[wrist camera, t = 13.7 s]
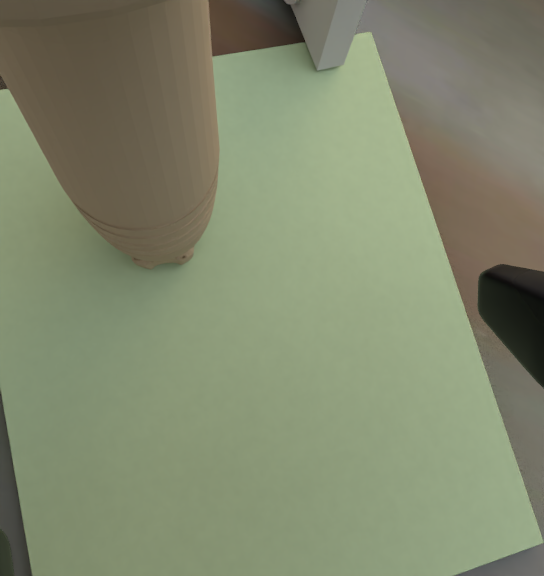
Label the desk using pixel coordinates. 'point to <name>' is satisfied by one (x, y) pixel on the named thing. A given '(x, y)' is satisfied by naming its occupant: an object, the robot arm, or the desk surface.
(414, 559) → the mat
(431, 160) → the desk surface
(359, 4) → the lattice window wall
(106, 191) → the handle
